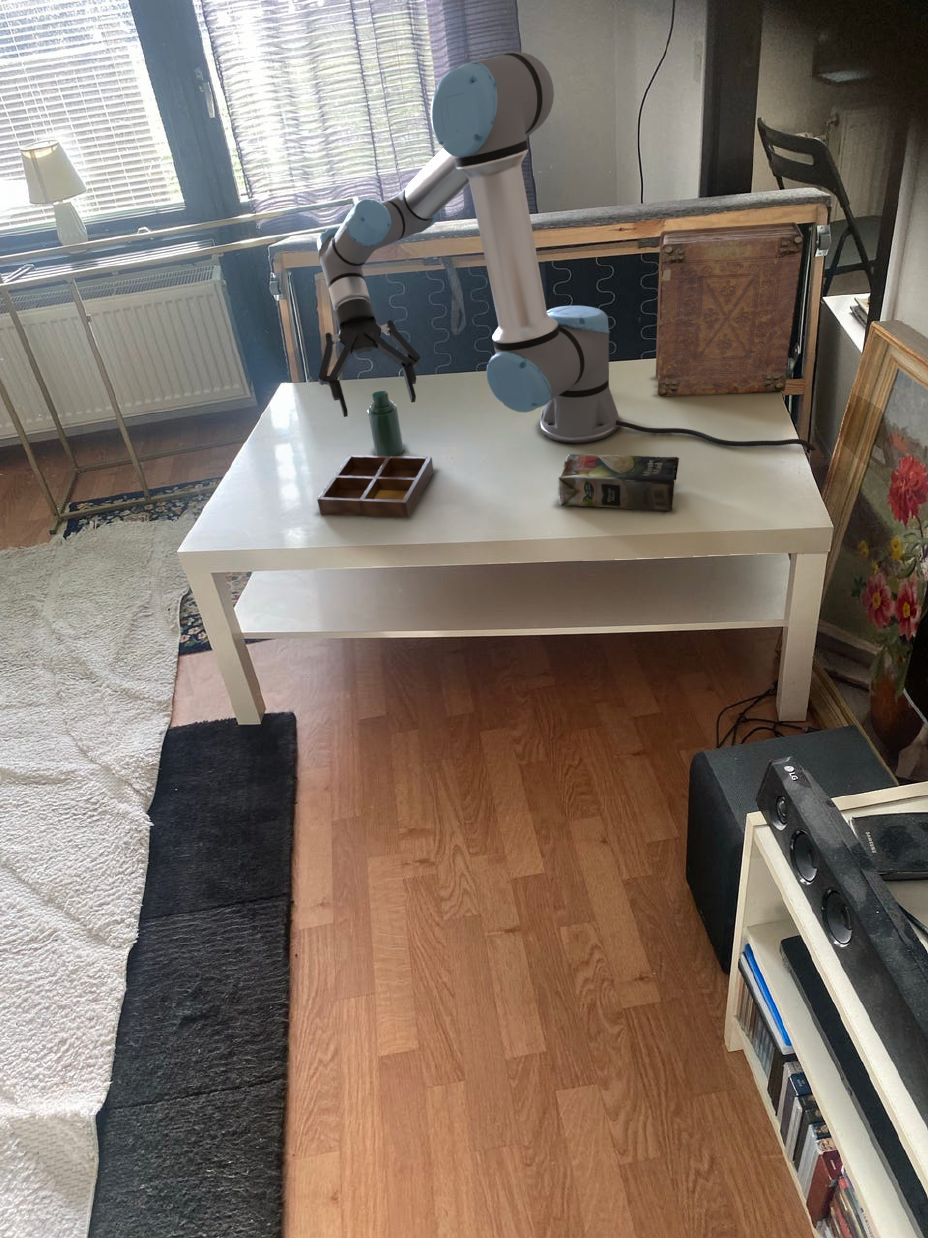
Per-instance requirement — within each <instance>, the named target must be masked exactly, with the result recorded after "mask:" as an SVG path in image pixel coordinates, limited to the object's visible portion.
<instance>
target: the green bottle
mask: <svg viewBox="0 0 928 1238" xmlns="http://www.w3.org/2000/svg"><path fill="white" fill-rule="evenodd" d="M371 397H372V402H371V403H370V405H369V408H368V409H367V414H368V420H369V426H370V430H371V436H372V442H373V448H374V453H375V456H400V455H401V454H402V453H403V452H404V444H403V439H402V438H403V437H402V432H401V425H400V424H401V423H400V419H399V411H398V406H397V405H396V404H395V403H394V402H393V401H392V400H391V399H389V392H387V391H385V390H378V391H375V392H373V393H372V394H371Z"/></svg>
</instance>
